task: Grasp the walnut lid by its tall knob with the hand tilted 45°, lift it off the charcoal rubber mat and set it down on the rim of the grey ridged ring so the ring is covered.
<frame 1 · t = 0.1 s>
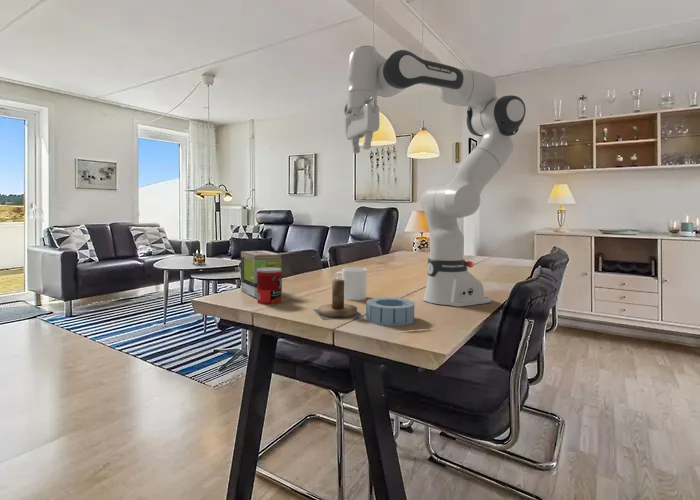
hand: (361, 151, 127), 48 cm above the table, tool pointing down, fingers open, 8 cm apart
grey ridged ring: (389, 320, 115), on the table
canned food: (269, 303, 135), on the table
mat: (337, 314, 121), on the table
tea box: (260, 293, 149), on the table
lid: (337, 313, 121), resting on mat
cup: (349, 298, 143), on the table
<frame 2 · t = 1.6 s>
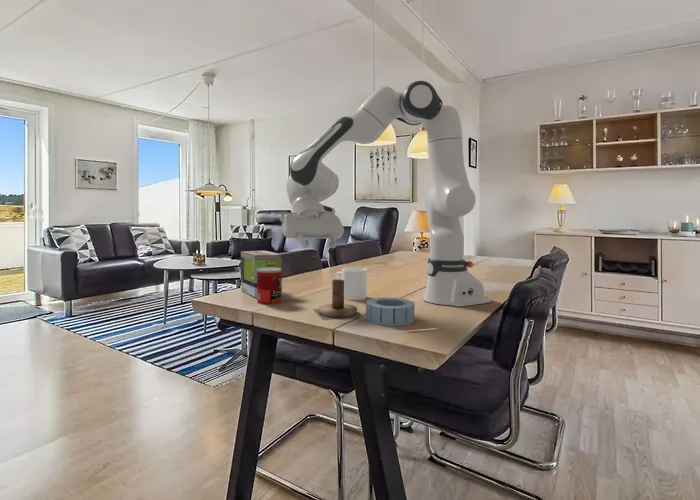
hand: (320, 246, 129), 19 cm above the table, tool tilted 45°, fingers open, 8 cm apart
nothing on the table moved.
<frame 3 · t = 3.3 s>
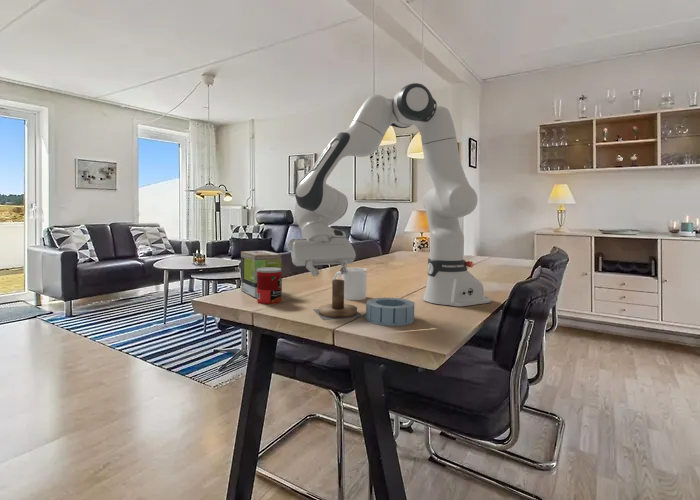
hand: (330, 274, 124), 11 cm above the table, tool tilted 45°, fingers open, 8 cm apart
nothing on the table moved.
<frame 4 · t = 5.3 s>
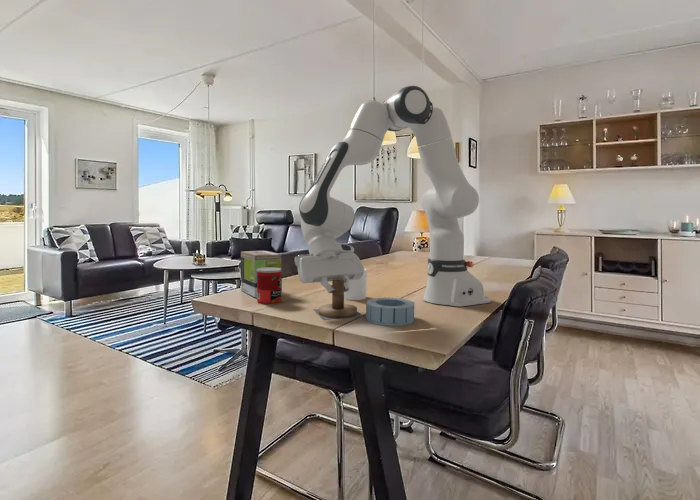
hand: (339, 291, 120), 7 cm above the table, tool tilted 45°, fingers closed on lid, 3 cm apart
lid: (337, 313, 121), resting on mat, touching gripper
everything else where it was.
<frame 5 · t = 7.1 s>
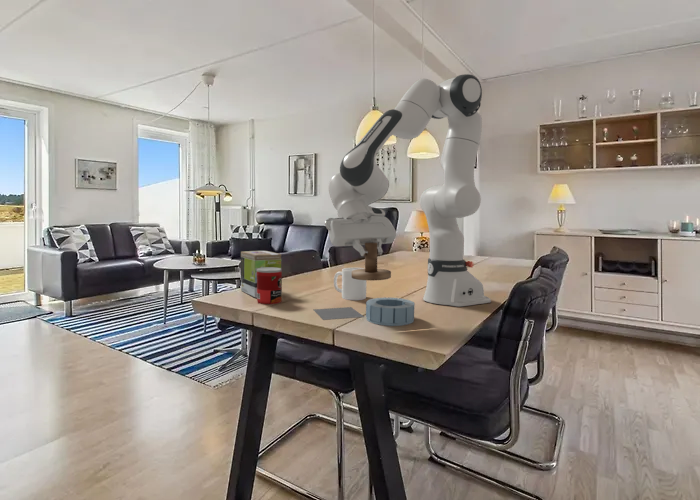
hand: (372, 254, 116), 18 cm above the table, tool tilted 45°, fingers closed on lid, 3 cm apart
lid: (371, 276, 117), point 12 cm above the table, touching gripper
everything else where it was.
when the fingers open (13 cm above the table, at t = 8.9 s): lid drops 1 cm, resting on grey ridged ring.
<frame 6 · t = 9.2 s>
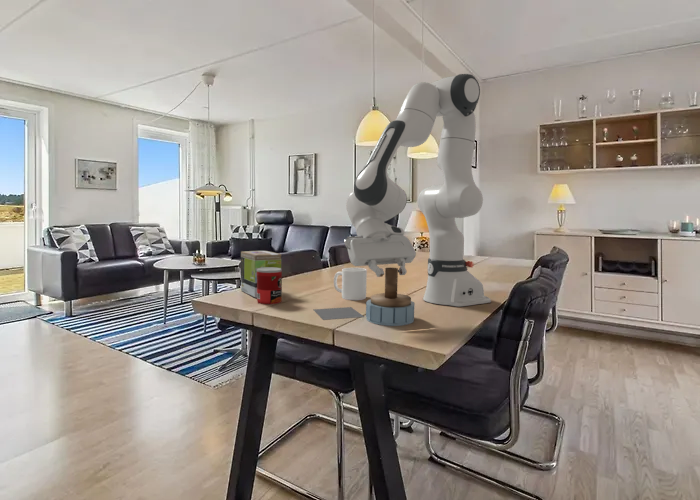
hand: (392, 274, 114), 13 cm above the table, tool tilted 45°, fingers open, 6 cm apart
lid: (390, 302, 115), point 5 cm above the table, touching grey ridged ring
everything else where it was.
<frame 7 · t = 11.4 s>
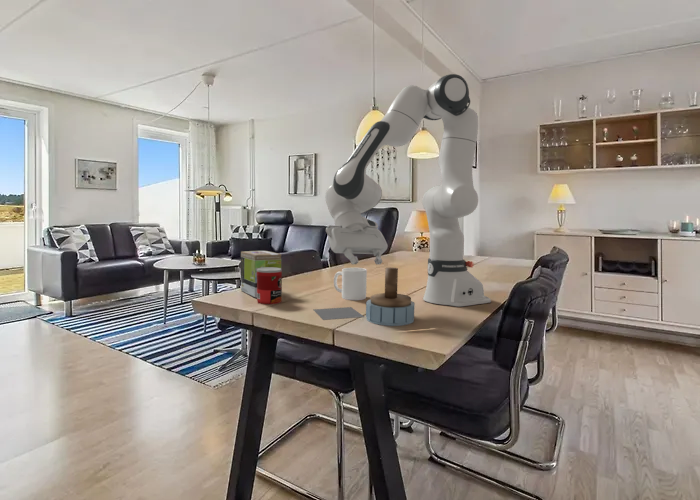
hand: (367, 263, 125), 14 cm above the table, tool tilted 40°, fingers open, 8 cm apart
nothing on the table moved.
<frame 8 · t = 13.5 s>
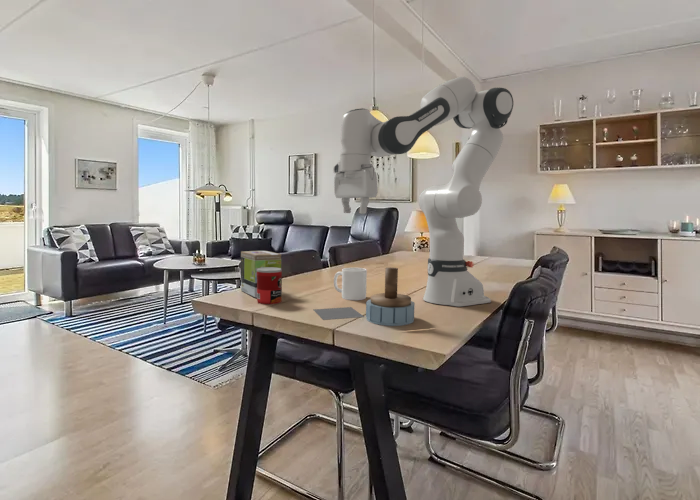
hand: (354, 213, 124), 29 cm above the table, tool pointing down, fingers open, 8 cm apart
nothing on the table moved.
at the end: lid 0.1 cm off-centre on the grey ridged ring, point 5.0 cm above the grey ridged ring's base; lid tilted 0°; the gripper is holding nothing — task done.
